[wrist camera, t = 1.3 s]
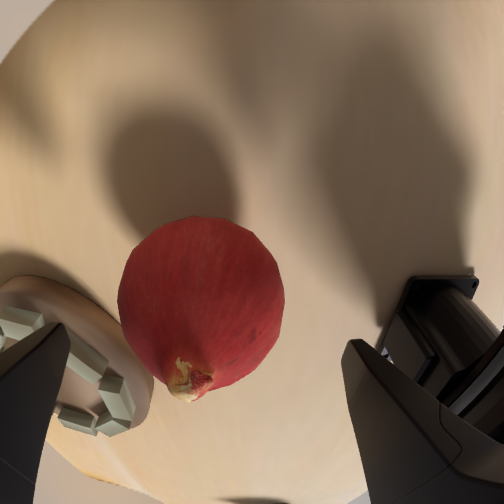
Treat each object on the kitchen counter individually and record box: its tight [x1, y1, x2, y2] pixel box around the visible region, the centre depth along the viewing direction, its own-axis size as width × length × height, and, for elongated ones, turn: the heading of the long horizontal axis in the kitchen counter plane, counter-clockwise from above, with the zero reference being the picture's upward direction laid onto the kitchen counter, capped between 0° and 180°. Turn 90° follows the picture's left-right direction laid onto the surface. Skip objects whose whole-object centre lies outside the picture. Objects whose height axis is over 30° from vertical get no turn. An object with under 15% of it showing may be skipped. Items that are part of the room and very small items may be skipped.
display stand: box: [0, 275, 154, 437], centre depth 15 cm, size 14×14×3 cm
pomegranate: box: [117, 216, 285, 402], centre depth 10 cm, size 6×6×8 cm
